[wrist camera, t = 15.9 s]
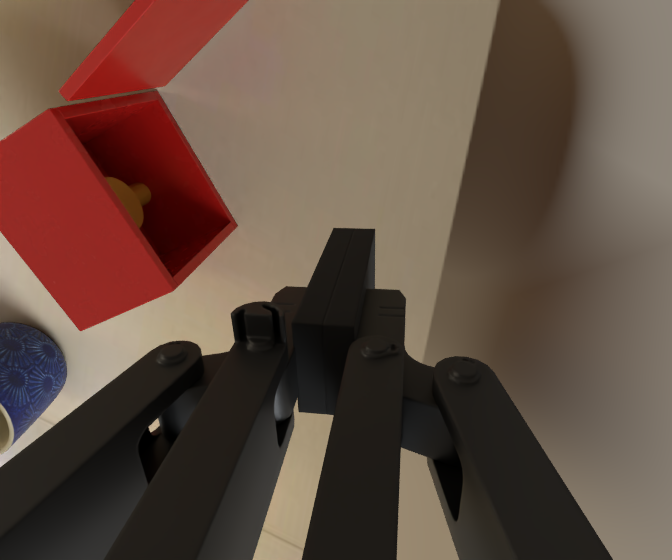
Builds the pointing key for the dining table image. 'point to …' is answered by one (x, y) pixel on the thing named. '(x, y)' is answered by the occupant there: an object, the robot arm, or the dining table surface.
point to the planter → (26, 378)
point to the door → (148, 46)
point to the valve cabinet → (108, 204)
